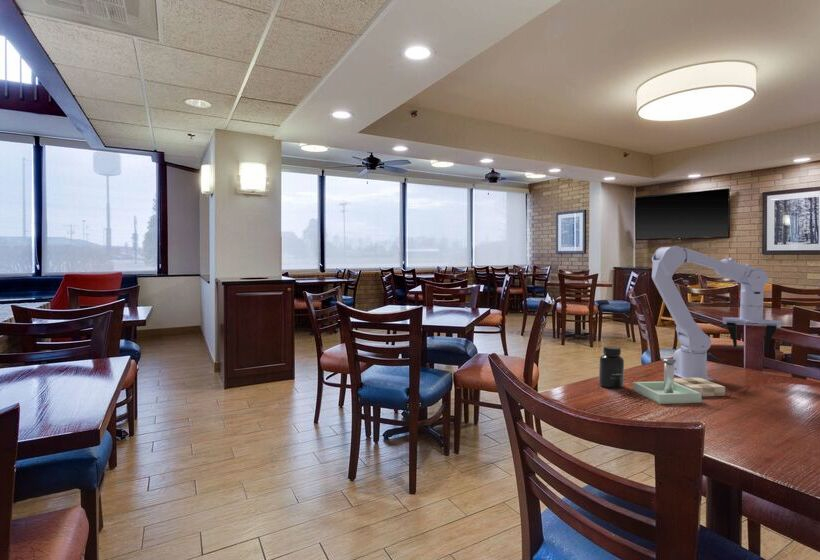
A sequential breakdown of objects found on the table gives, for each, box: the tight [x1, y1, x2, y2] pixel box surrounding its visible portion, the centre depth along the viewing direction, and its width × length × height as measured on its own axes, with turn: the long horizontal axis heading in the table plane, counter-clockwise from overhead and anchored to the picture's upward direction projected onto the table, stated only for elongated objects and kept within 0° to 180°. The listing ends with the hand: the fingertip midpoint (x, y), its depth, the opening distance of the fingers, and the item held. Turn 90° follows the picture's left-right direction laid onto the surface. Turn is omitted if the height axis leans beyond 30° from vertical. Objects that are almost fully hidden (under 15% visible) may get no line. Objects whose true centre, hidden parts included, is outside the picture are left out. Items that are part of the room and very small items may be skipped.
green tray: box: [632, 380, 703, 405], centre depth 122 cm, size 12×12×2 cm
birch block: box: [674, 377, 726, 397], centre depth 127 cm, size 10×10×2 cm
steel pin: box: [662, 357, 676, 393], centre depth 124 cm, size 3×3×10 cm
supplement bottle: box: [598, 345, 625, 389], centre depth 133 cm, size 7×7×12 cm
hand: (750, 347), depth 138 cm, fingers open, 7 cm apart
